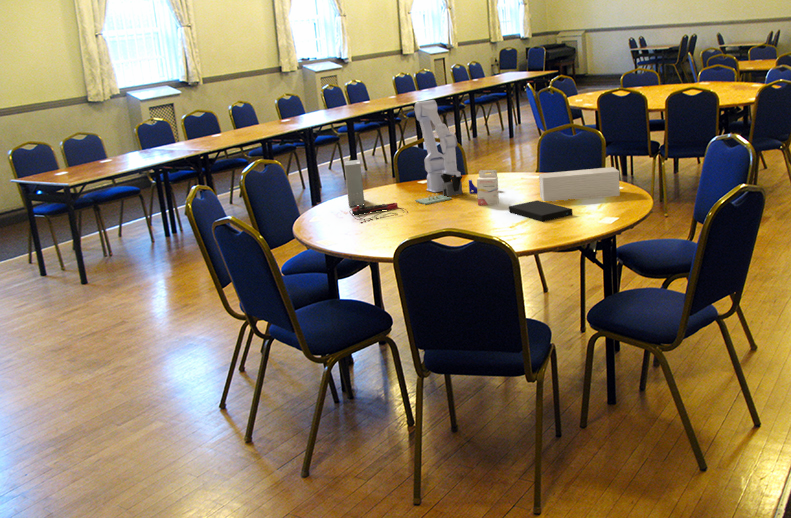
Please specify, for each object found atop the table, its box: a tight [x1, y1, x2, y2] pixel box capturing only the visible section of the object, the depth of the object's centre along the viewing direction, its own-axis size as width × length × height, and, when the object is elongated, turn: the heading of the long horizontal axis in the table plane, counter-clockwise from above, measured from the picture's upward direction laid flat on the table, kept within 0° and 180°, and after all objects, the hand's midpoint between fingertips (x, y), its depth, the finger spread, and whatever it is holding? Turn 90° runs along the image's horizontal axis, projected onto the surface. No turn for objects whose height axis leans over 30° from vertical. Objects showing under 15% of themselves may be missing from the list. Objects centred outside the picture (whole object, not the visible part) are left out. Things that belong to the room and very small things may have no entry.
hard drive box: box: [343, 159, 366, 207], centre depth 344 cm, size 16×8×20 cm, turn 4°
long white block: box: [538, 166, 620, 202], centre depth 311 cm, size 32×11×11 cm, turn 87°
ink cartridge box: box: [476, 169, 500, 206], centre depth 314 cm, size 9×5×15 cm, turn 71°
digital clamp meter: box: [348, 202, 409, 224], centre depth 318 cm, size 23×4×25 cm
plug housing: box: [442, 180, 463, 197], centre depth 343 cm, size 5×8×6 cm, turn 115°
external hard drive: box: [508, 199, 573, 223], centre depth 289 cm, size 14×23×3 cm, turn 24°
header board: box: [414, 192, 452, 206], centre depth 334 cm, size 10×14×3 cm
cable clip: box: [468, 179, 478, 195], centre depth 342 cm, size 12×4×6 cm, turn 85°
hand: (452, 189), depth 343 cm, fingers open, 7 cm apart
